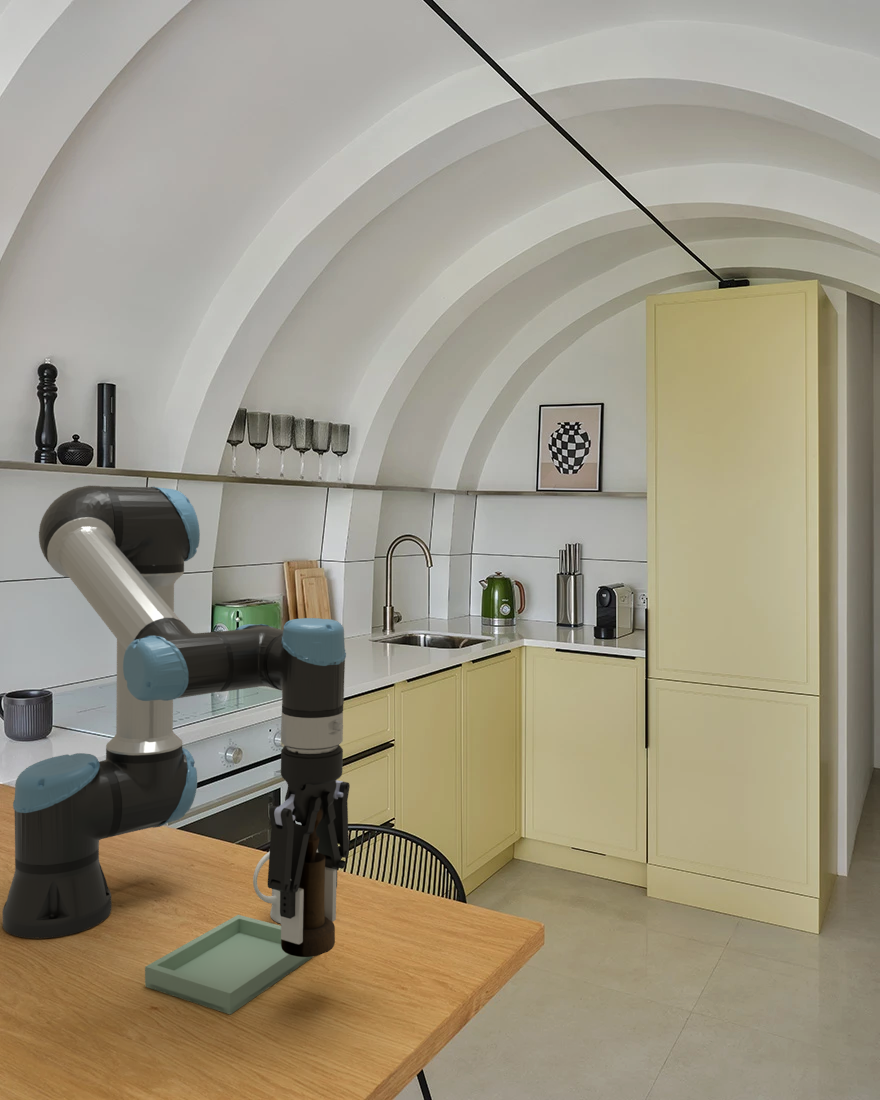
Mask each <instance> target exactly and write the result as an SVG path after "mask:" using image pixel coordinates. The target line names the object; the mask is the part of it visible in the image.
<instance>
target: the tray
mask: <svg viewBox="0 0 880 1100" xmlns="http://www.w3.org/2000/svg"><path fill="white" fill-rule="evenodd" d="M314 957H315V956H312V957H297V956H293V955H290V954H287V953H285V952H284V951H283V950H282V947H281V924H280V925H279V924H275V923H272V922H268V921H264V920H259V919H256V918H253V917H249V916H244V915H241V914H237V915H235V916H233V917H232V918H230V919H228V920H226V921H224V922H222V923H220V924H219V925H217V926H215V927H214V928H212V929H209V930H208V931H207V932H205V933H203V934H201V935H200V936H197V937H195V938H193V939H192V940H190V941H188V942H186V943H185V944H183V945H181V946H180V947H178V948H176V949H174V950H172V951H171V952H169V953H167V954H166V955H163V956H162V957H160V958H158V959H156V960H155V961H153V962H151V963H149V964H147V965H146V966H145V967H144V979H145V980H144V987H145V988H148V989H152V990H154V991H157V992H160V993H163V994H166V995H169V996H172V997H176V998H178V999H180V1000H181V999H182V1000H185V1001H188V1002H191V1003H194V1004H197V1005H199V1006H203V1007H206V1008H208V1009H210V1010H211V1009H212V1010H215V1011H218V1012H221V1013H224V1014H227V1015H232V1014H233V1013H235V1012H236V1011H237V1010H239V1009H240V1008H242V1007H243V1006H245V1005H246V1004H248V1003H249V1002H250V1001H252V1000H254V999H255V998H256V997H258V996H259V995H261V994H263V992H265V991H267V990H268V989H269V988H271V987H272V986H274V985H275V984H276V983H278V982H280V981H281V980H282V979H283V977H284V978H285V977H287V976H288V975H289V974H291V973H292V972H294V971H295V970H297V969H298V968H299V966H300V967H301V966H302V965H304V964H305V963H307V962H308V961H309V960H311V959H312V958H314ZM290 972H291V973H290ZM286 975H287V976H286Z"/></svg>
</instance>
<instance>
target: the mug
mask: <svg viewBox="0 0 880 1100" xmlns="http://www.w3.org/2000/svg"><path fill="white" fill-rule="evenodd" d="M316 852H318V849H317V851H316ZM269 854H270V850H269V851H268V852H267V853H265V854H264V855H263V856H261V859H260V860H259V861H258V862H257V865H256V866H255V869H254V873H253V877H252V885H253V889H254V890H253V891H254V892H255V893H256V895H257V897H258V898H259V899H260V900H261V901H263V902H265V903H267V904H271V909H270V912H269V914H270V915H269V916H270V918H271V920H273V921H274V922H276V923H277V924H280V925H281V915H280V891H278V890H274V889H271V895H270V896H269V895H265V894H263V893H262V892H261V891H260V889H259V887H258V878H259V877H258V876H259V873H260V870H261V869H262V867H263V866H264V864H265V863H266V862H268V861H269Z"/></svg>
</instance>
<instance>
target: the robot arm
mask: <svg viewBox="0 0 880 1100" xmlns="http://www.w3.org/2000/svg"><path fill="white" fill-rule="evenodd" d="M200 533H201V532H200V524H199V520H198V515H197V513H196V510H195V508H194V506H193V504H192V503H191V501H190V500H189V498H188V497H187V496H186V495H185V494H184V493H182V492H181V491H180V490H177V489H174V488H167V487H166V488H165V487H159V486H158V487H156V486H112V485H111V486H110V485H109V486H108V485H107V486H105V485H104V486H102V485H84V486H79V487H75V488H73V489H70V490H68V491H67V492H64V493H62V494H61V495H60V496H59V497H57V498H56V499H55V500H53V502H52V503H50V505H49V506H48V508H47V509H46V511H45V512H44V513H43V515H42V517H41V520H40V524H39V531H38V542H39V547H40V549H41V553H42V555H43V556H44V558H45V560H46V562H47V563H48V564H49V565H50V567H51V568H52V570H54V571H55V572H56V573H57V574H59V575H60V576H62V577H66V578H69V579H70V580H71V582H73V584H74V585H75V587H76V588H77V589H78V591H79V592H80V593H81V595H82V596H83V597H84V599H85V600H86V601H87V602H88V603H89V605H90V606H91V607H92V608H93V610H94V611H95V612H96V614H97V615H98V616H99V617H100V619H101V620H102V622H104V624H105V625H106V626H107V628H108V629H109V630H110V632H111V633H112V634H113V635H114V637H115V638H116V714H115V715H116V718H115V720H116V721H115V722H116V730H115V731H116V732H115V733H116V734H115V735H114V736H113V737H112V738H111V739H110V740H109V741H107V743H106V746H105V760H99V759H98V758H97V756H95V755H94V754H91V753H86V752H85V753H80V752H79V753H74V754H62V755H57V756H52V757H49V758H46V759H43V760H40V761H38V762H36V763H34V764H31V765H30V766H28V767H26V768H25V769H24V770H22V771H21V772H20V773H19V774H18V776H17V778H16V780H15V784H14V786H15V787H14V788H15V789H14V800H13V802H12V808H13V811H14V865H15V866H14V874H13V878H12V881H11V885H10V888H9V891H8V894H7V898H6V901H5V903H4V905H3V907H2V928H3V930H4V931H5V932H6V933H8V934H9V935H13V936H15V937H20V938H25V939H26V938H27V939H48V938H49V939H51V938H58V937H64V936H65V937H66V936H69V935H74V934H77V933H81V932H84V931H86V930H89V929H92V928H94V927H95V926H97V925H99V924H101V923H103V922H104V921H105V920H106V919H107V918H108V917H109V916H110V915H111V914H112V913H111V912H112V893H111V890H110V889H109V887H108V882H107V879H106V876H105V874H104V870H103V868H102V866H101V863H100V841H101V840H103V839H107V838H112V837H116V836H120V835H124V834H129V833H134V832H137V831H142V830H146V829H151V828H153V829H155V828H159V827H162V826H164V825H166V824H169V823H172V822H173V823H174V822H176V821H179V820H181V819H182V818H183V817H184V816H185V815H186V814H187V813H188V812H189V811H190V809H191V807H192V806H193V804H194V801H195V798H196V794H197V790H198V772H197V771H198V770H197V767H195V759H194V757H193V755H192V754H191V752H190V751H189V750H188V749H187V748H185V747H183V739H181V738H180V737H179V736H178V735H177V734H176V733H175V732H174V730H173V729H174V700H177V699H183V698H189V697H195V696H201V695H202V696H203V695H206V694H214V693H225V692H230V691H237V690H244V689H251V688H259V687H267V688H272V689H275V690H278V691H281V697H282V699H281V724H280V725H281V727H280V729H281V730H280V731H281V732H280V742H281V744H282V745H283V747H282V748H281V750H280V775H281V777H282V779H283V780H284V781H285V782H286V784H287V790H286V793H285V797H284V802H283V803H281V804H280V805H278V806H276V805H272V806H270V807H269V809H268V810H269V812H268V814H269V821H270V825H271V826H270V827H271V829H270V841H269V842H270V843H269V851H270V854H269V860H268V871H267V872H268V874H267V887H268V888H269V889H270V890H272V889H274V890H278V891H280V915H281V924H280V926H281V939H282V940H285V941H289V942H292V943H295V944H300V943H302V942H303V895H304V889H301V888H299V885H300V880H301V875H302V869H303V864H304V859H305V854H306V849H307V844H308V839H309V835H310V834H311V833H313V831H314V827H315V822H316V817H317V813H318V811H319V810H320V807H321V808H322V811H323V816H322V819H321V821H320V823H319V825H318V826H317V828H316V835H317V836H318V837H319V844H318V848H317V849H318V853H321V854H323V855H324V856H325V917H327V918H328V919H329V920H331V921H332V922H333V923H334V922H335V921H336V920H337V888H338V869H340V870H341V869H342V870H343V869H344V868H345V867H346V864H347V861H346V860H343V858H344V859H346V858H348V856H349V854H350V850H349V849H350V846H349V845H350V844H349V815H348V814H349V811H348V804H349V803H348V799H349V791H350V782H347V781H343V780H339V779H340V778H341V777H342V775H343V764H344V763H343V762H344V761H343V758H344V757H343V753H344V750H343V748H342V746H341V744H342V743H343V740H344V737H343V736H344V735H343V734H344V731H343V730H344V704H345V702H344V701H345V699H344V697H345V674H346V673H345V670H346V657H347V652H346V648H345V628H344V626H343V624H342V623H340V621H337V620H335V619H331V618H320V617H319V618H318V617H303V618H301V617H300V618H296V619H295V618H294V619H290V620H288V621H286V622H285V624H284V625H283V629H281V628H276V627H274V626H270V625H268V624H265V623H264V624H263V623H260V624H255V623H254V624H253V623H252V624H251V623H250V624H249V623H248V624H242V625H240V626H239V627H237V628H235V629H231V630H222V631H210V632H209V631H208V632H207V631H206V632H199V633H198V632H196V633H195V632H192V631H191V630H190V628H188V626H187V625H186V624H185V622H183V621H182V620H181V619H180V618H179V616H178V615H177V614H176V613H175V612H174V611H175V583H176V582H177V580H178V579H180V578H181V577H182V576H183V575H184V574H185V562H187V561H189V560H192V559H193V558H194V557H195V555H196V554H197V549H198V548H199V546H200V535H201V534H200ZM296 822H297V823H296ZM301 823H303V824H306V825H305V826H304V825H302V824H301ZM339 845H340V846H339Z"/></svg>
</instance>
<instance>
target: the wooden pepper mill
mask: <svg viewBox="0 0 880 1100" xmlns="http://www.w3.org/2000/svg"><path fill="white" fill-rule="evenodd" d="M322 816H323V811H322V808H321V807H320V810H319V811H318V813H317V817H316V822H315V827H314V831H313V833H311V834H310V835H309V839H308V844H307V849H306V854H305V859H304V864H303V869H302V875H301V880H300V885H299V888H301V889H304V895H303V942H302V943H300V944H295V943H292V942H289V941H285V940H282V939H281V947H282V950H283V951H284V952H285V953H287V954H290V955H293V956H297V957H312V956H314V957H317V956H320V955H323V954H325V953H328V952H330V951H331V950H332V949H333V948H334V946H335V943H336V934H335V933H336V926H335V924H334V921H333V922H332V921H331V920H329V919H328V918H327V917H325V856H324V855H323V854H321V853H318V852H316V851H317V848H318V844H319V837H318V836H317V835H316V828H317V826H318V825H319V823H320V821H321V819H322ZM300 825H304V826H305V825H306V824H303V823H300Z"/></svg>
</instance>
